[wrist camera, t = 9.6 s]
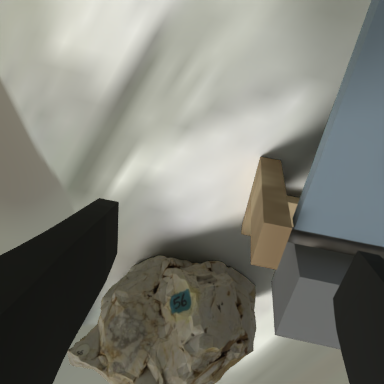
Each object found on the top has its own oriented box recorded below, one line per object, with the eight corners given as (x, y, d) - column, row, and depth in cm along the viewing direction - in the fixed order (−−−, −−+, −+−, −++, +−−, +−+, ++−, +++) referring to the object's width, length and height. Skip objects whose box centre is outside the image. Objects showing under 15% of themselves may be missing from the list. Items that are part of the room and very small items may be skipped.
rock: (258, 239, 21) (193, 406, 15) (274, 300, 25) (228, 455, 19) (113, 222, 27) (22, 335, 21) (143, 273, 31) (74, 383, 25)
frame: (490, 200, 19) (589, 288, 13) (442, 267, 22) (507, 363, 16) (260, 156, 20) (263, 222, 14) (241, 226, 22) (237, 305, 17)
